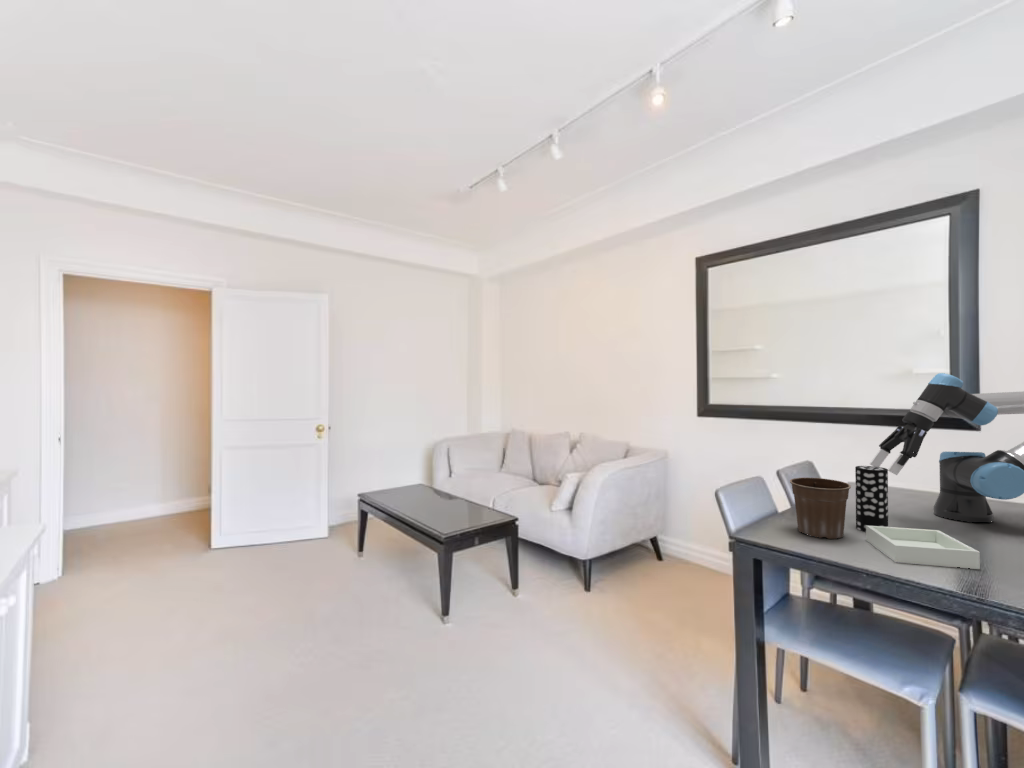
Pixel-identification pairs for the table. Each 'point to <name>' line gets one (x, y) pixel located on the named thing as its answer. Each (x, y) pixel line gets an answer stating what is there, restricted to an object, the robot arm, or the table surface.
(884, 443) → the robot arm
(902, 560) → the tray
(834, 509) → the plant pot
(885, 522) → the spotted tube
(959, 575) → the table surface
